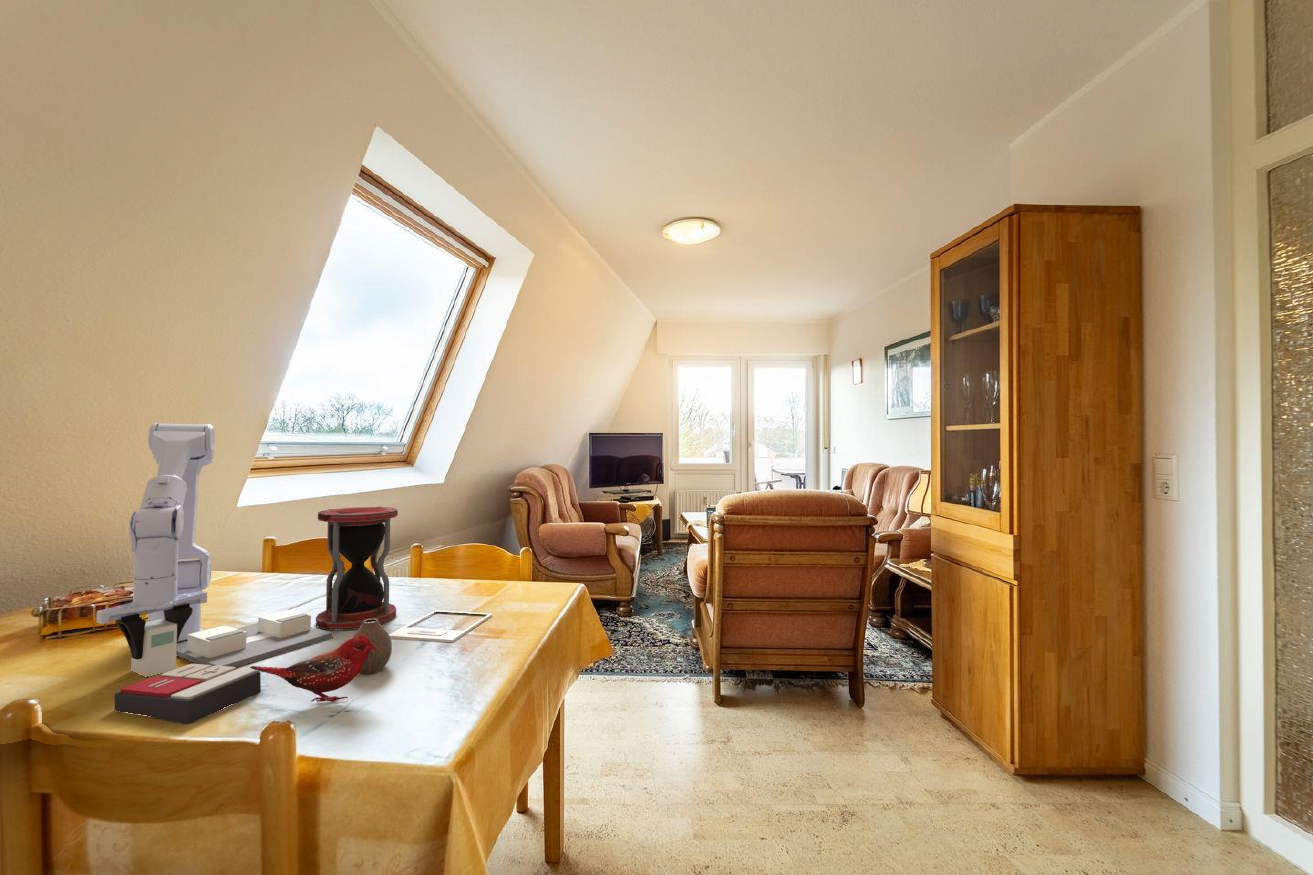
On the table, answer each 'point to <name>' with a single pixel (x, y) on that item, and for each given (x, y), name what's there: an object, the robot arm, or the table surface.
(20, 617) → the table surface
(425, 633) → the photo frame
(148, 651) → the module block
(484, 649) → the table surface
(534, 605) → the table surface
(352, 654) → the decorative bird figurine
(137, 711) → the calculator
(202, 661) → the rail board
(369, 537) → the hourglass
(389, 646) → the vase
